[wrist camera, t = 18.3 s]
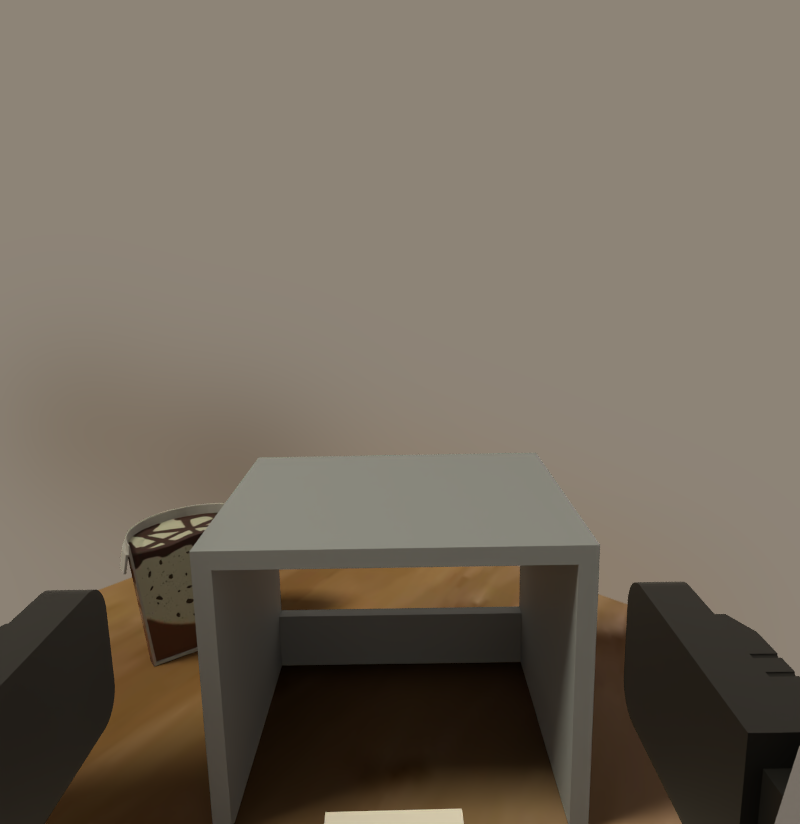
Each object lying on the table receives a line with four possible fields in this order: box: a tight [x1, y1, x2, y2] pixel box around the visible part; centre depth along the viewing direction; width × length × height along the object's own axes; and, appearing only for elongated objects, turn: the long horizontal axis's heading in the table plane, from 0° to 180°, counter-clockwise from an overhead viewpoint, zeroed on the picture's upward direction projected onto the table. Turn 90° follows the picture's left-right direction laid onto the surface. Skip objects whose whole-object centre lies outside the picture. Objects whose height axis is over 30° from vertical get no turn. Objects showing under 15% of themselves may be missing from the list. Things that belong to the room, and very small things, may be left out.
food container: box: [120, 503, 225, 666], centre depth 58 cm, size 12×6×10 cm, turn 128°
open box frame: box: [189, 453, 600, 824], centre depth 45 cm, size 20×17×16 cm
